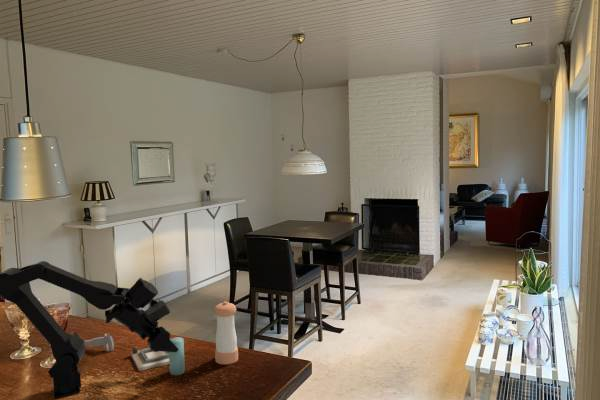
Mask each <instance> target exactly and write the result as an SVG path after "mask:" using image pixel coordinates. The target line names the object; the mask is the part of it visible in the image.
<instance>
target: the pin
mask: <svg viewBox="0 0 600 400" xmlns="http://www.w3.org/2000/svg"><path fill="white" fill-rule="evenodd" d="M171 338H172V339H170V340H171V341H172V343H173V344H174V345H175V346H176V347H177V348H178V351H177V352H169V364H168V365H169V374H170V375H171V376H180V375H182V374H184V373H185V345H184V343H185V342H184V338H183V337H178V336H177V337H176V336H175V337H171Z"/></svg>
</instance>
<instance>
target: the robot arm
mask: <svg viewBox="0 0 600 400" xmlns="http://www.w3.org/2000/svg"><path fill="white" fill-rule="evenodd" d="M36 280H42V281H44V282H46V283H49V284H52V285H54V286H57V287H59V288H61V289H64V290H65V291H69V292H71V293H73V294H76V295H79V296H80V297H82V298H83V299H84V300H85V301H86V302H87V303H88V304H90V305H92V306H94V307H95V308H97V309H98V310H103V311H104V317H105V323H106V324H110V322H111V321H113V319H114V320H115V321H117V322H119V323H120V324H121V325H123V326H125V327H126V328H128V330H129V331H130V332H131V333H134V334H136V335H138V336H139V337H140V338H141V339H142V340H145V339H146V338H148V339H147V340H146V345H147V347H148V348H150V349H151V350H153V351H154V352H158V351H166V352H177V351H178V348H177V347H176V346H175V345H174V344H173V343H172V341H171V340H170V338H171V333H170V332H169V330H167V329H166V328H165V327H163V326H159V322H158V321H159V320H161V319H162V318H164V317H165V316H168V315H170V313H171V310H170V308H169V307H168V305H167V303H166V302H165V301H164V300H161V299H158V300H156V299H154V298H155V297H156V296H157V295H159V291H158V288H156V286H155V285H154V284H153V283H152V282H149V281H148V280H145V279H143V278H142V277H139V278H138V279H137V280H135V283H134V284H132V286H131V287H130V288H127V287H118V286H117V285H115V284H112V283H110V282H104V281H96V280H90V279H88V278H85V277H81V276H80V275H77V274H75V273H72V272H70V271H68V270H65V269H63V268H60V267H57V266H55V265H53V264H50V263H49V262H48V261H45V260H42V261H39V262H37V263H33V264H28V265H26V266H23V267H21V268H19V267H10V268H7V269H5V270H3V272H2V271H1V272H0V297H1V298H3V300H6V301H8V302H11V303H12V304H14V305H16V306H17V308H18V309H19V310H20V311H21V312H22V314H23V315H24V316H25V317H26V318H27V320H29V322H30V323H31V324H32V325H33V326H34V327H35V329H37V331H38V332H39V333H40V334H41V336H42V337H43V338H44V339H45V340H46V342H47V343H48V344H49V346H50V349H51V350H50V351H51V353H52V357H53V359H54V360H55V361H54V363H53V364H52V365H51V367H50V368H49V369H48V375H49V376H50V378H52V392H53V399H58V398H63V397H67V396H71V395H74V394H75V395H76V394H79V393H80V392H81V388H82V379H81V371H80V370H79V369H78V364H79V363H80V361H81V360H82V359H83V357H84V355H85V353H86V346H85V345H84V342H85V341H86V340H83V339H82V338H81V337H80V336H79V333H78V332H76V331H75V332H73V333H72V334H70V333H68V332H66V331H65V330H64V329H63V328H62V326H61V325H60V324H59V323H58V321H56V319H55V318H54V317H53V316H52V315H51V313H50V312H49V311H48V309H46V307H45V306H44V305H43V304H42V303H41V301H39V299H38V298H37V297H36V295H35V294H34V293H33V291H32V287H31V284H30V283H31V282H33V281H36ZM147 305H148V307H147V309H146V310H144V308H145V307H146V306H147Z"/></svg>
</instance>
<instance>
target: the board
mask: <svg viewBox="0 0 600 400" xmlns="http://www.w3.org/2000/svg"><path fill="white" fill-rule="evenodd" d="M172 338H173V337H170V339H172ZM131 348H132V349H131V352H130V357H131V359H132V360H133V362H134V364H135V366H136V368H137V370H138V372H141V371H145V370H149V369H154V368H158V367H162V366H167V365H169V352H166V351H158V352H154V351H153V350H151V349H150V348H149V347H147V348H144V349H138V345H133V346H132V347H131Z"/></svg>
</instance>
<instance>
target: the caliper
mask: <svg viewBox="0 0 600 400" xmlns="http://www.w3.org/2000/svg"><path fill="white" fill-rule="evenodd" d="M103 335H104V336H99V337H93V339H88V340H87V339H85V340H84V341H85V342H84V345H85V347H86V346H93V347H100V346H103V348H104V349H105V351H106V352H109V351H110V352H112V351H114V349H115V342H114V338H113V336H112V335H111V334H110V333H104V334H103Z"/></svg>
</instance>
